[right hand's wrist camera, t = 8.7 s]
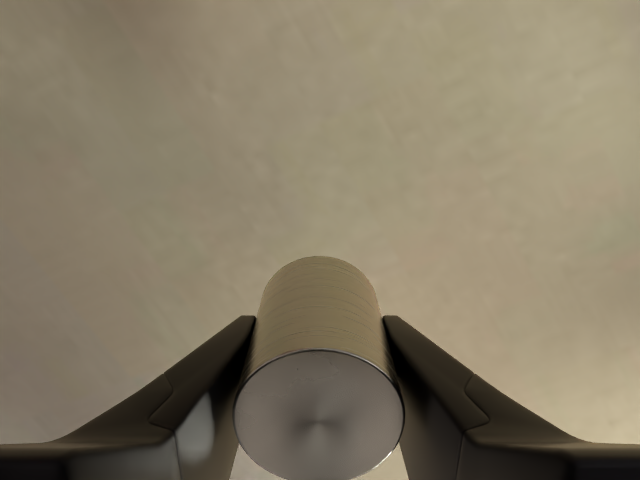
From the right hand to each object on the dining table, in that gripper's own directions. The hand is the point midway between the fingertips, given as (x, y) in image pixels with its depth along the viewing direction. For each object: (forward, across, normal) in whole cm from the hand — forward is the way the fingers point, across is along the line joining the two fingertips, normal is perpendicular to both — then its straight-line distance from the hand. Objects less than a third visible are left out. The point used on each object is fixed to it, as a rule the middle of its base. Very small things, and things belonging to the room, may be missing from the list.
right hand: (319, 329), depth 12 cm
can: (+1, 0, 0) cm, 1 cm away
